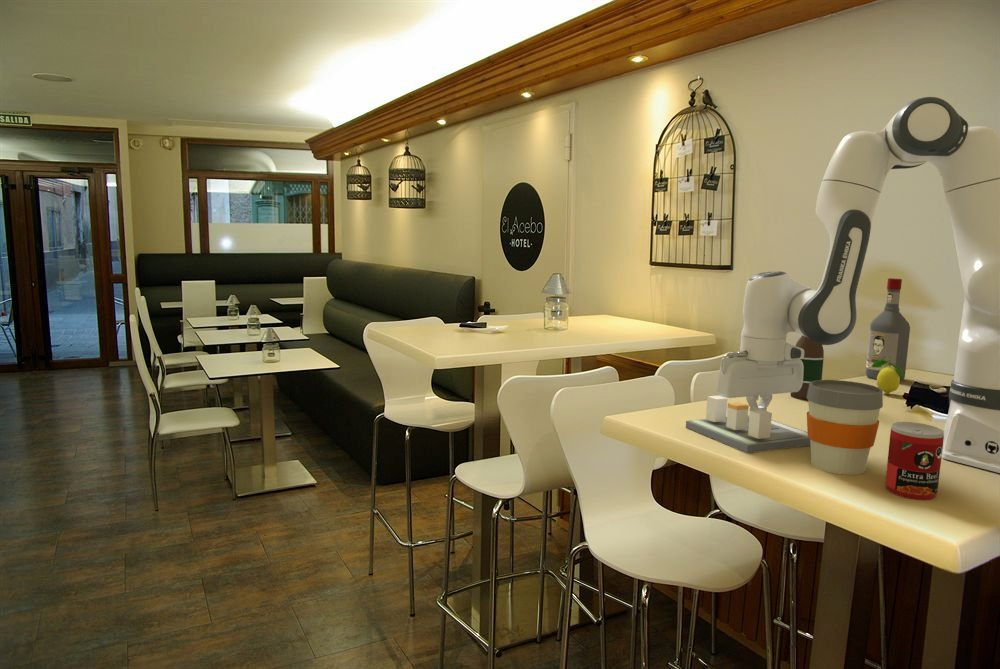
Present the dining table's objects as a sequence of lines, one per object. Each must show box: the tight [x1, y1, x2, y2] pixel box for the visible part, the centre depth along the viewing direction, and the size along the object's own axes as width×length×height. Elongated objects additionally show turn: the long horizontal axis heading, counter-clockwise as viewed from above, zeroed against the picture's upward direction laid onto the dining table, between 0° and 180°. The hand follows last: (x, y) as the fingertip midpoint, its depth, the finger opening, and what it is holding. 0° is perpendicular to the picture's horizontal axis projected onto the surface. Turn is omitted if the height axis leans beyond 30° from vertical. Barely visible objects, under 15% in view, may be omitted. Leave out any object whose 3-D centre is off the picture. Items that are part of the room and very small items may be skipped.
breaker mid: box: [726, 401, 750, 430], centre depth 151 cm, size 3×3×5 cm
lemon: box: [871, 358, 906, 395], centre depth 196 cm, size 7×6×10 cm
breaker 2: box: [748, 410, 773, 439], centre depth 145 cm, size 3×3×5 cm
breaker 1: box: [705, 395, 728, 422], centre depth 157 cm, size 3×3×5 cm
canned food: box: [884, 421, 944, 501], centre depth 121 cm, size 8×8×11 cm
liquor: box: [864, 277, 911, 381], centre depth 217 cm, size 9×9×30 cm
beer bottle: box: [790, 335, 825, 401], centre depth 189 cm, size 8×8×24 cm
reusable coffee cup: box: [806, 379, 884, 476], centre depth 133 cm, size 12×13×15 cm
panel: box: [685, 414, 811, 454], centre depth 153 cm, size 19×19×2 cm
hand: (757, 415), depth 152 cm, fingers closed
